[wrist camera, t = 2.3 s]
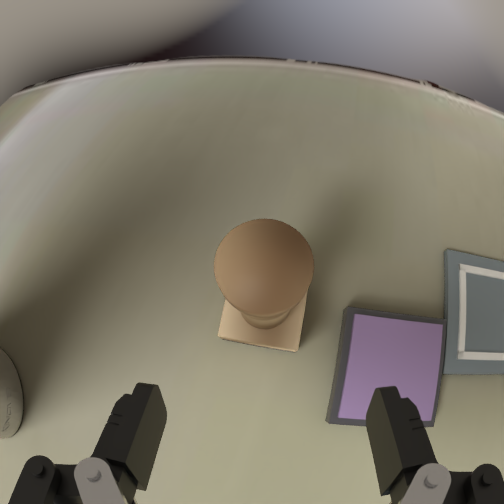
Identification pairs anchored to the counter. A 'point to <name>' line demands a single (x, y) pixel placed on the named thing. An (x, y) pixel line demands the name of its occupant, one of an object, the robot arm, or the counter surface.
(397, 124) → the counter surface
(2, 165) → the counter surface
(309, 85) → the counter surface
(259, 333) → the stamp
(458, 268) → the print board
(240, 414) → the counter surface
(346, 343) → the ink pad
